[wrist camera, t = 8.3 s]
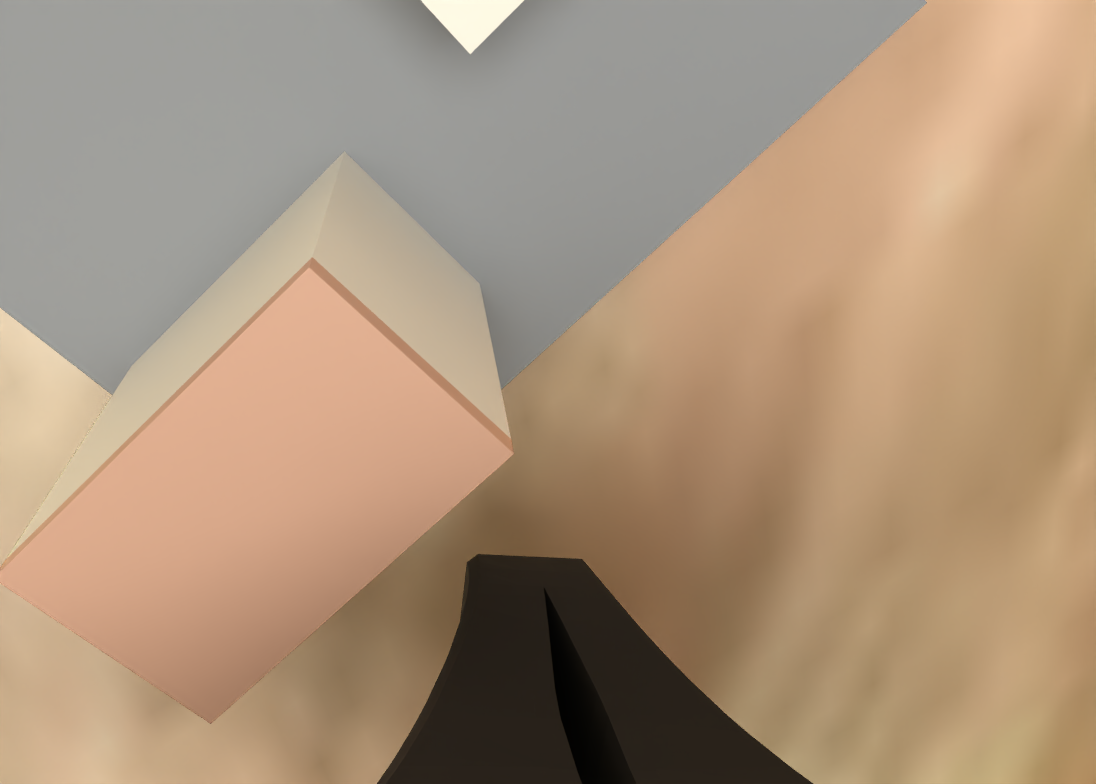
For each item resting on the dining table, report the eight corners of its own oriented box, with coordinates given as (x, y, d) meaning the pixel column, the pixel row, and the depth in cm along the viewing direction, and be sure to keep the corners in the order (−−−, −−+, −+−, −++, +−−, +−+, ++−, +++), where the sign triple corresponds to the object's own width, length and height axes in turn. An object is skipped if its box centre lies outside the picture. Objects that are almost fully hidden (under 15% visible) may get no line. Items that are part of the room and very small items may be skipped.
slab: (479, 284, 14) (514, 454, 9) (272, 478, 15) (211, 723, 10) (344, 151, 13) (309, 267, 8) (131, 365, 14) (-8, 577, 9)
